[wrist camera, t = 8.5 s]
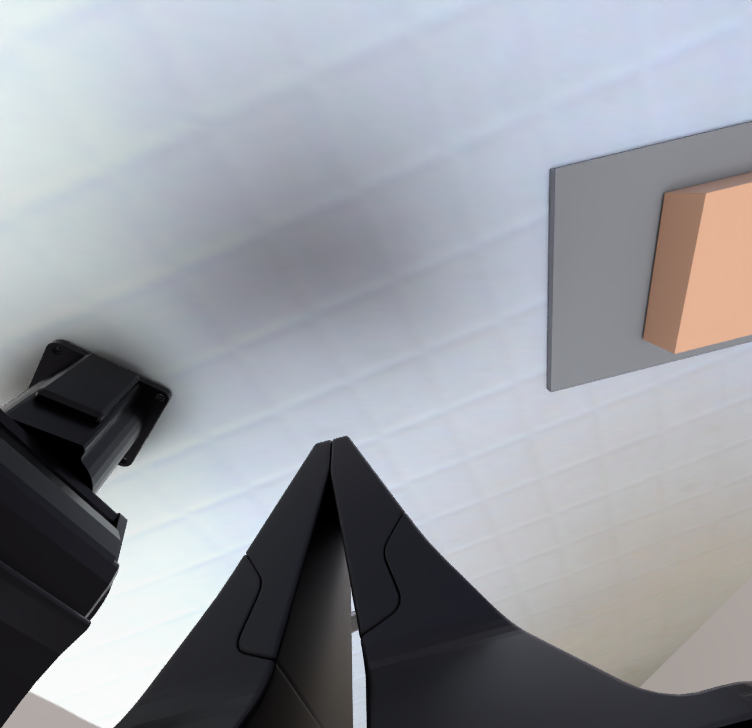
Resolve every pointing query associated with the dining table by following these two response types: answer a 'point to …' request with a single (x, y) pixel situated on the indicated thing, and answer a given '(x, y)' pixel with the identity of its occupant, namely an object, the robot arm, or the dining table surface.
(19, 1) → the dining table surface
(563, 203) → the mat
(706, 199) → the tile
